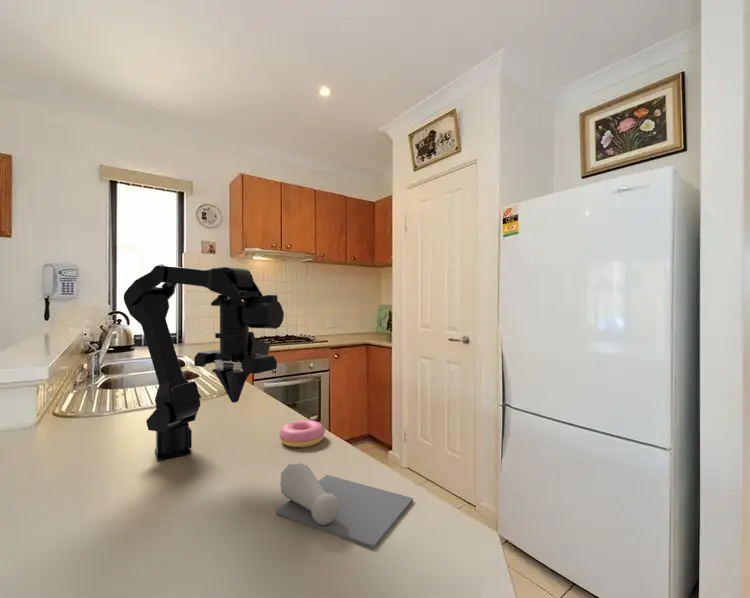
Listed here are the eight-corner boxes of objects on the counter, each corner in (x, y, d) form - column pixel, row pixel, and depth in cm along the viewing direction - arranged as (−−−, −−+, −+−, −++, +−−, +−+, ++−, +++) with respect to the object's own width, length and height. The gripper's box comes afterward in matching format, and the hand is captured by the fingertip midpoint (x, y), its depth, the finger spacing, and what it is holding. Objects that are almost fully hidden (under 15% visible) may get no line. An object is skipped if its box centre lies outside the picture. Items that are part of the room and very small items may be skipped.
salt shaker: (274, 496, 65) (311, 539, 55) (275, 463, 64) (313, 501, 54) (304, 485, 68) (345, 524, 58) (306, 455, 68) (347, 488, 58)
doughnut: (309, 430, 100) (309, 414, 100) (334, 441, 92) (334, 424, 92) (271, 440, 92) (271, 423, 92) (294, 454, 84) (294, 435, 84)
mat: (275, 513, 61) (275, 510, 61) (326, 477, 73) (326, 474, 73) (373, 549, 52) (373, 545, 52) (412, 501, 64) (412, 498, 64)
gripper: (294, 326, 82) (294, 398, 82) (234, 323, 90) (234, 388, 91) (255, 330, 72) (256, 412, 72) (192, 327, 81) (192, 399, 81)
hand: (234, 402), depth 79 cm, fingers closed
